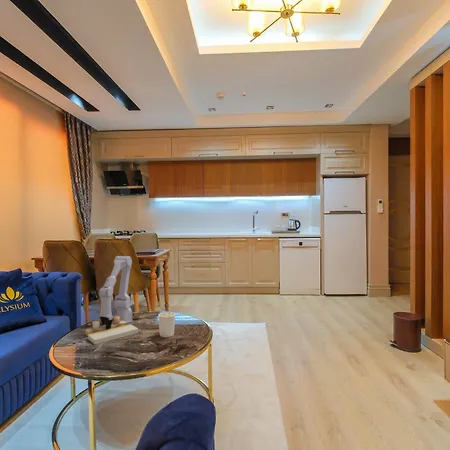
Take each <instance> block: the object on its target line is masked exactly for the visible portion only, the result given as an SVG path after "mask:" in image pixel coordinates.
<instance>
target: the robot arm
mask: <svg viewBox="0 0 450 450" xmlns="http://www.w3.org/2000/svg"><path fill="white" fill-rule="evenodd" d="M113 264H114V265H113V268H112V271H111V273H110V275H109V276H108V277H107V278H106V280H105V283H104V285H103V286H102V287H101V288H100V289H99V291H98V296H99V299H100V304H101V305H100V306H101V307H100V310H101V311H100V314H99V320H100V323H101V326H102V325H106V330H108V329H111V324H112V323H113V320H114V318H113V317H114V316H113V314H112V306H113V307H114V309H115V310H116V316H119V317H120V321H123V320H124V321H126V322H127V324H128V323H129V324H130V323H133V312H132V308H131V303H132V302H131V297H130V296H129V294H128V288H129V281H130V273H131V269H132V264H133V259H132V257H131V256H130V255H129V256H127V255H125V256H124V255H120V256H119V255H117V256H115V258H114V260H113ZM120 271H121V276H120V281H119V292H118V294H117V295H116V296H115V297H114V301H113V305H112V296H113V294H114V287H115V285H116V283H117V276H118V275H119V273H120Z"/></svg>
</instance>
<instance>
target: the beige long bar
mask: <svg viewBox="0 0 450 450" xmlns="http://www.w3.org/2000/svg"><path fill="white" fill-rule="evenodd" d="M125 325H128V323H127V322H126V321H124V320H123V321H120V323H119V324H113V322H112V324H111V329H112V328H117V327H121V326H125ZM104 330H106V325H102V324H101V325H100V328H99V329H93V327H90V328H86V329H85V330H84V333H85V334H84V335H85V336H86V337H87V336H88V334H92V333H96V332H100V331H104Z"/></svg>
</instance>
